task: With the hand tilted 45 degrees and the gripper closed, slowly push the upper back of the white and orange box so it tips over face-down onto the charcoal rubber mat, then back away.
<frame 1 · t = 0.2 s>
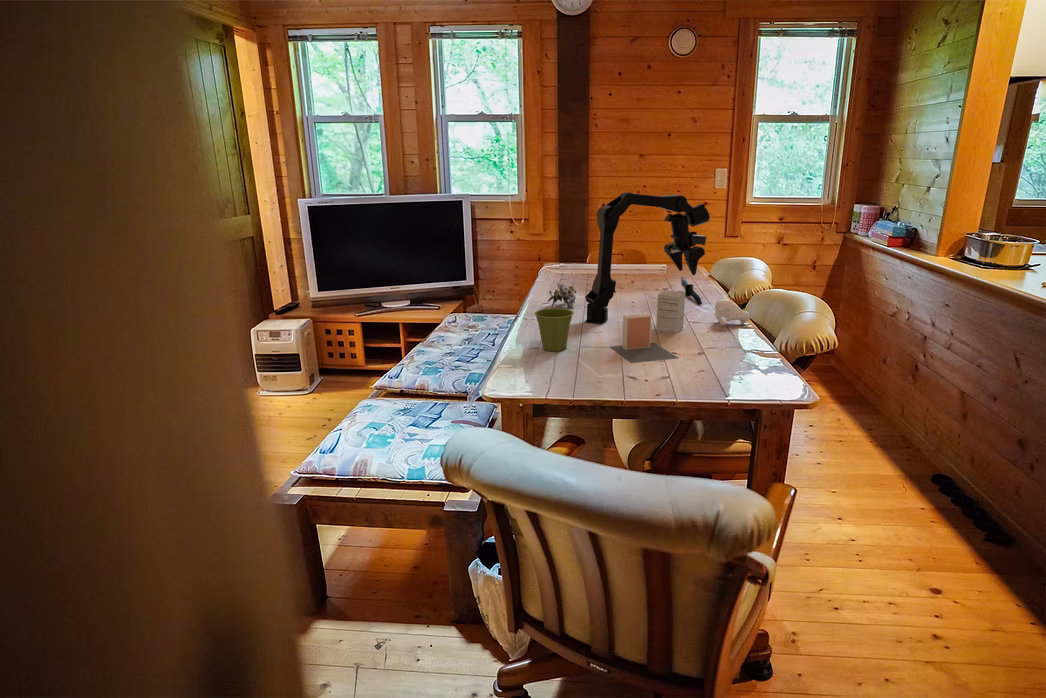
hand: (687, 272, 220), 15 cm above the table, tool pointing down, fingers open, 9 cm apart
supplement box: (669, 330, 206), on the table
passion flower: (561, 307, 237), on the table
knife: (690, 297, 252), on the table
white animal figurine: (731, 324, 212), on the table
white and orange box: (635, 347, 186), resting on mat
mat: (643, 353, 182), on the table
plant pot: (554, 348, 187), on the table
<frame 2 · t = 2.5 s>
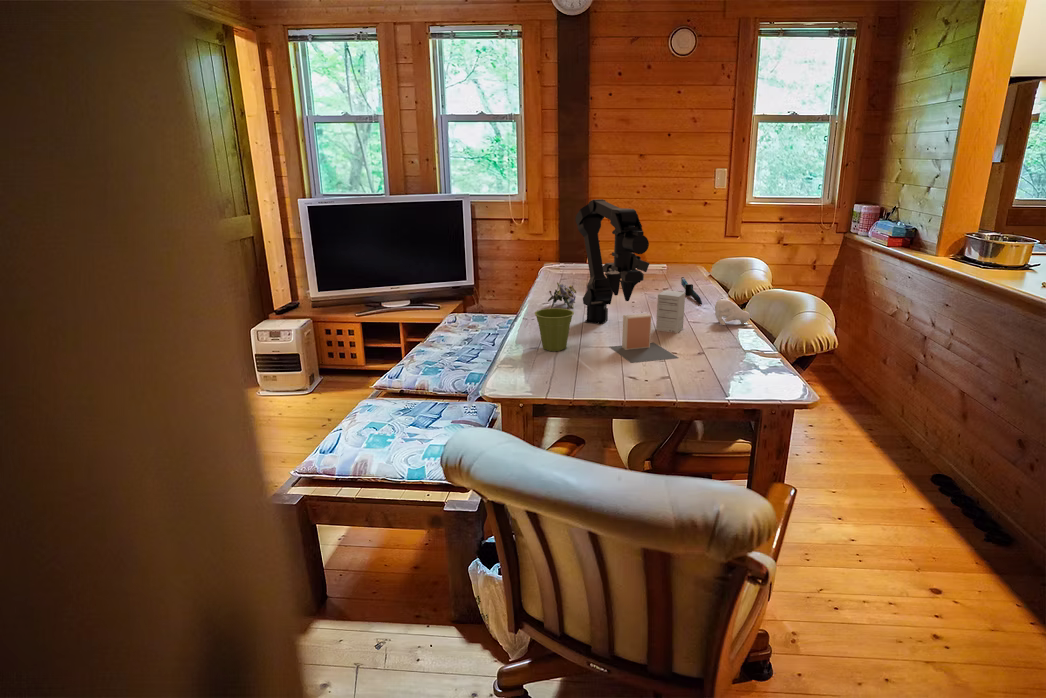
hand: (621, 298, 198), 12 cm above the table, tool pointing down, fingers open, 8 cm apart
nothing on the table moved.
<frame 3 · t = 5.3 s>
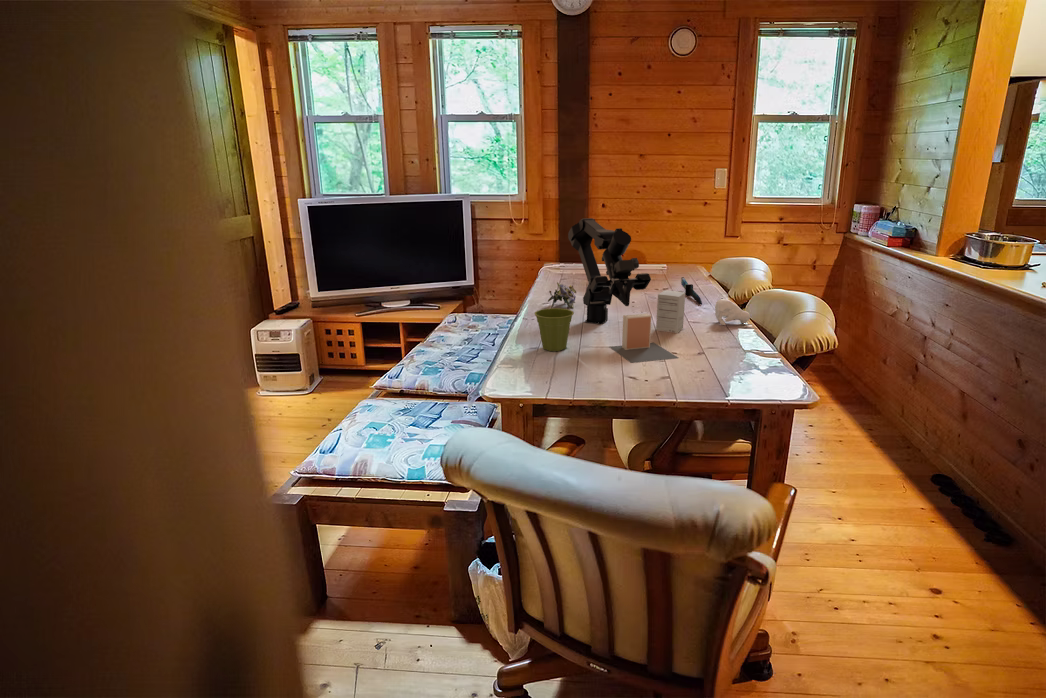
hand: (627, 305, 190), 12 cm above the table, tool tilted 45°, fingers closed
nothing on the table moved.
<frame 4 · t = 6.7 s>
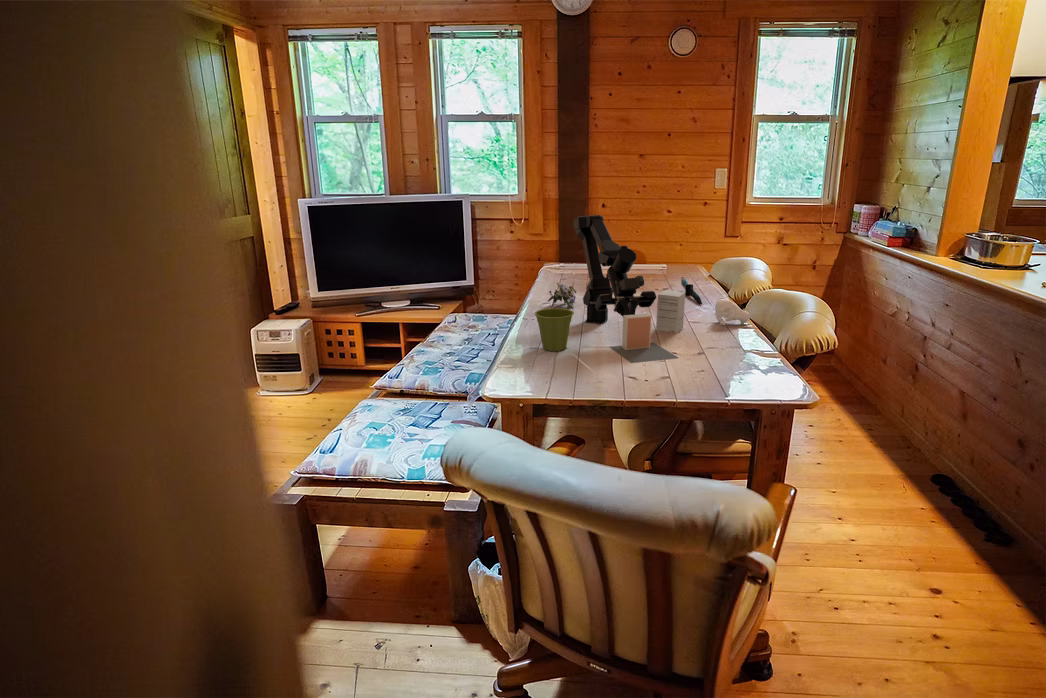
hand: (632, 323, 188), 7 cm above the table, tool tilted 45°, fingers closed
nothing on the table moved.
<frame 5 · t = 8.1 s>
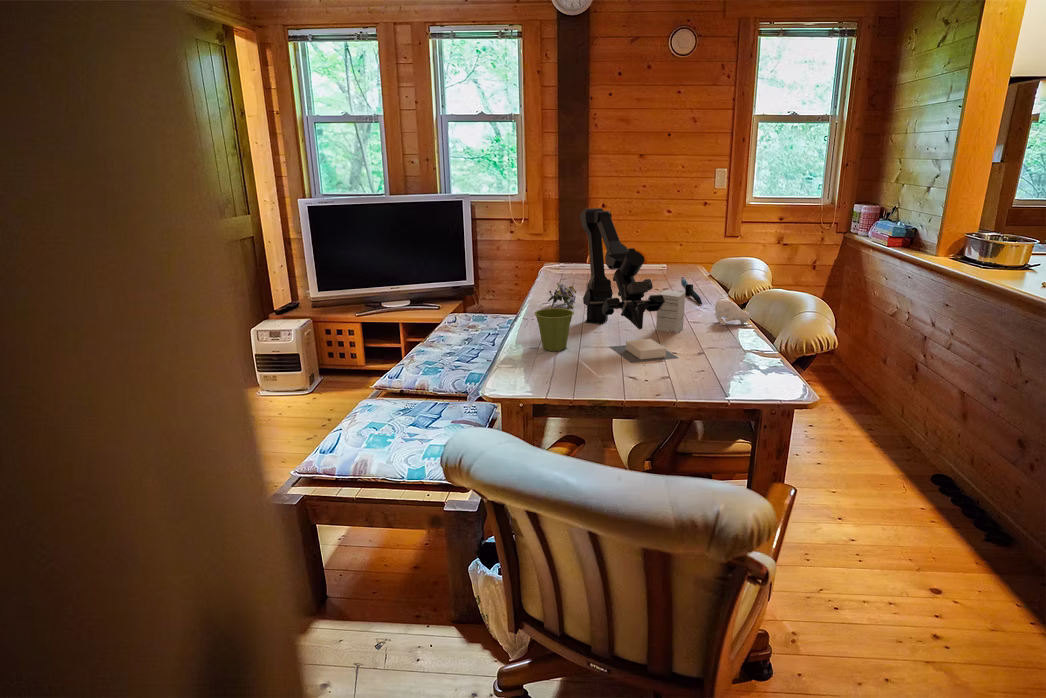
hand: (640, 328, 183), 7 cm above the table, tool tilted 45°, fingers closed
white and orange box: (638, 344, 184), point 2 cm above the table, tilted 90°, touching mat
everything else where it was.
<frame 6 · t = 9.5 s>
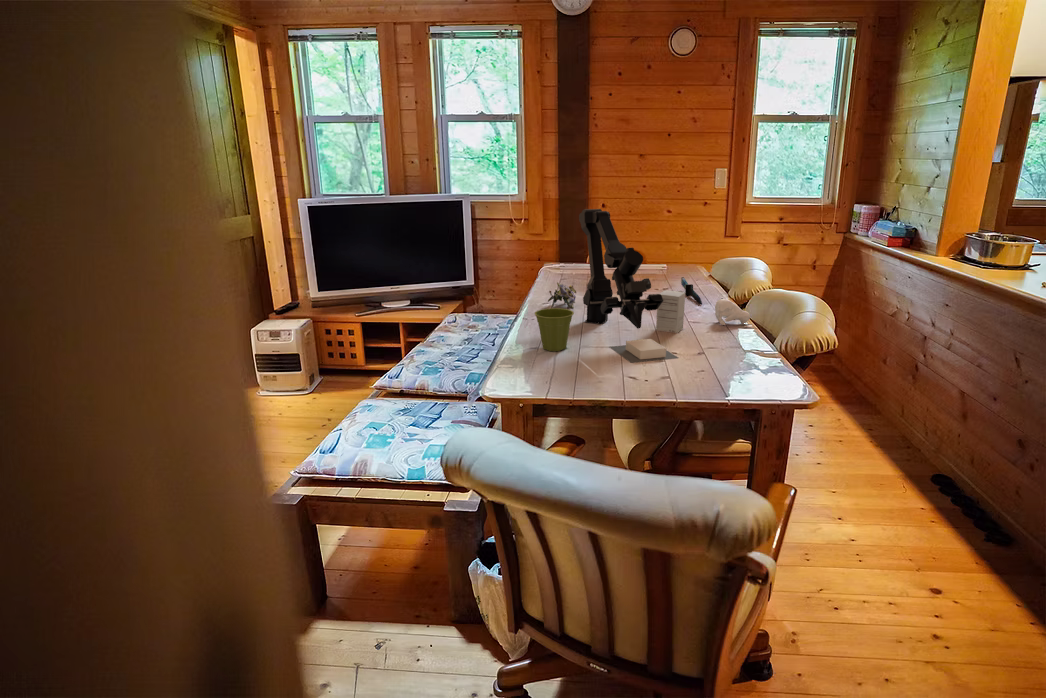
hand: (639, 327, 183), 7 cm above the table, tool tilted 45°, fingers closed
nothing on the table moved.
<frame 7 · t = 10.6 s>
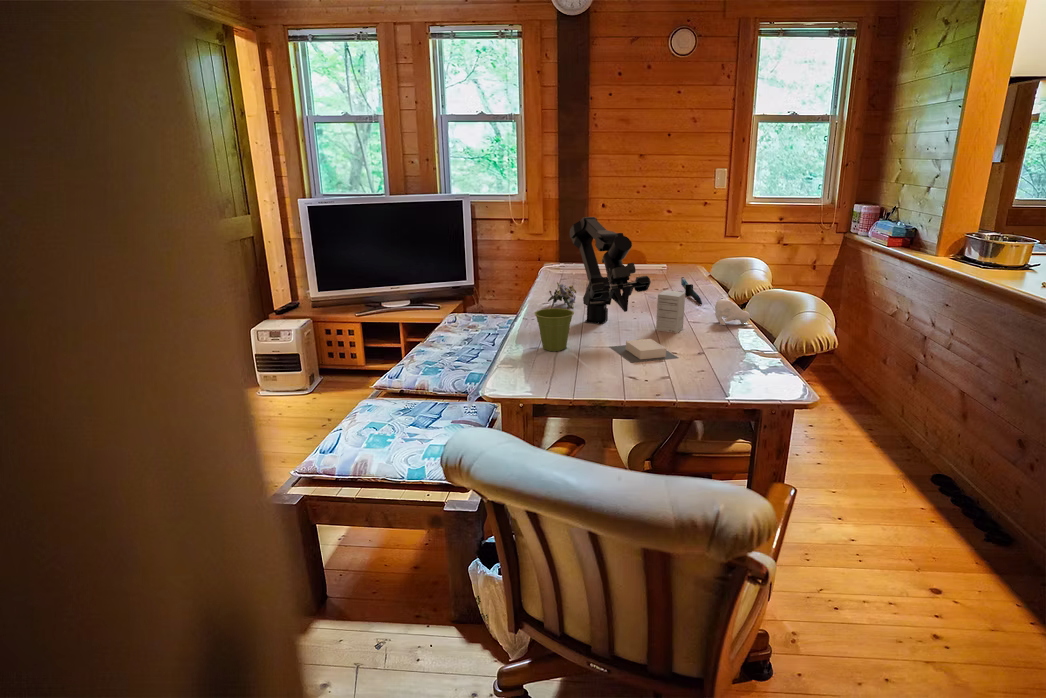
hand: (626, 311, 191), 10 cm above the table, tool tilted 40°, fingers closed
nothing on the table moved.
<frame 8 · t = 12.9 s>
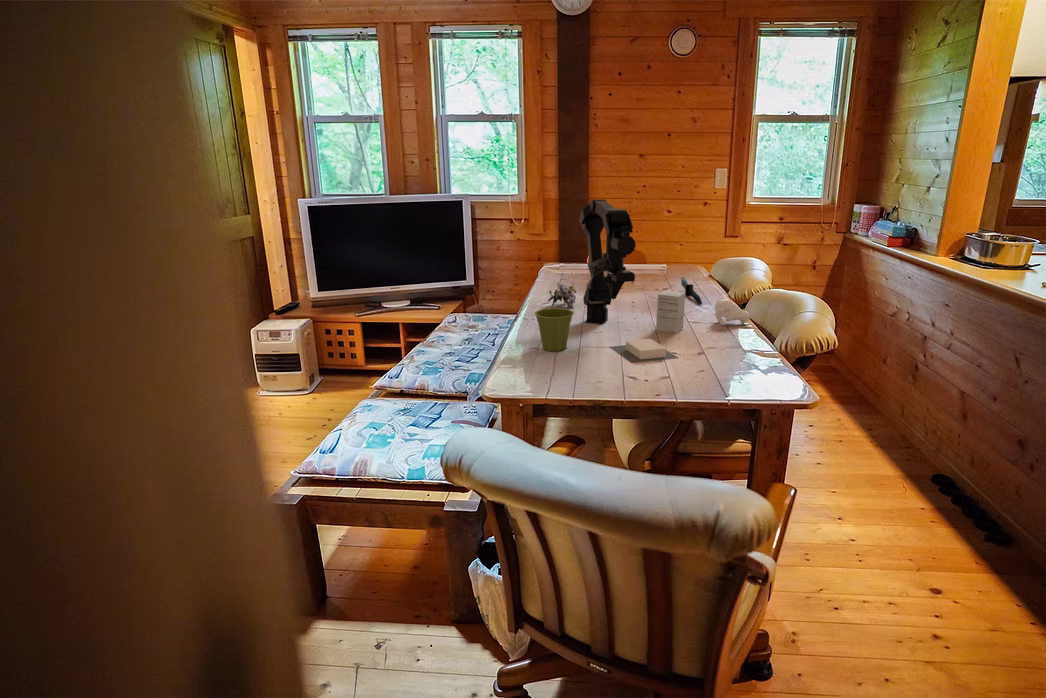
hand: (613, 298, 197), 12 cm above the table, tool pointing down, fingers closed
nothing on the table moved.
at the end: white and orange box tilted 90°; white and orange box inside the target area on the mat (0.8 cm from its centre), point 1.8 cm above the mat's base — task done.
